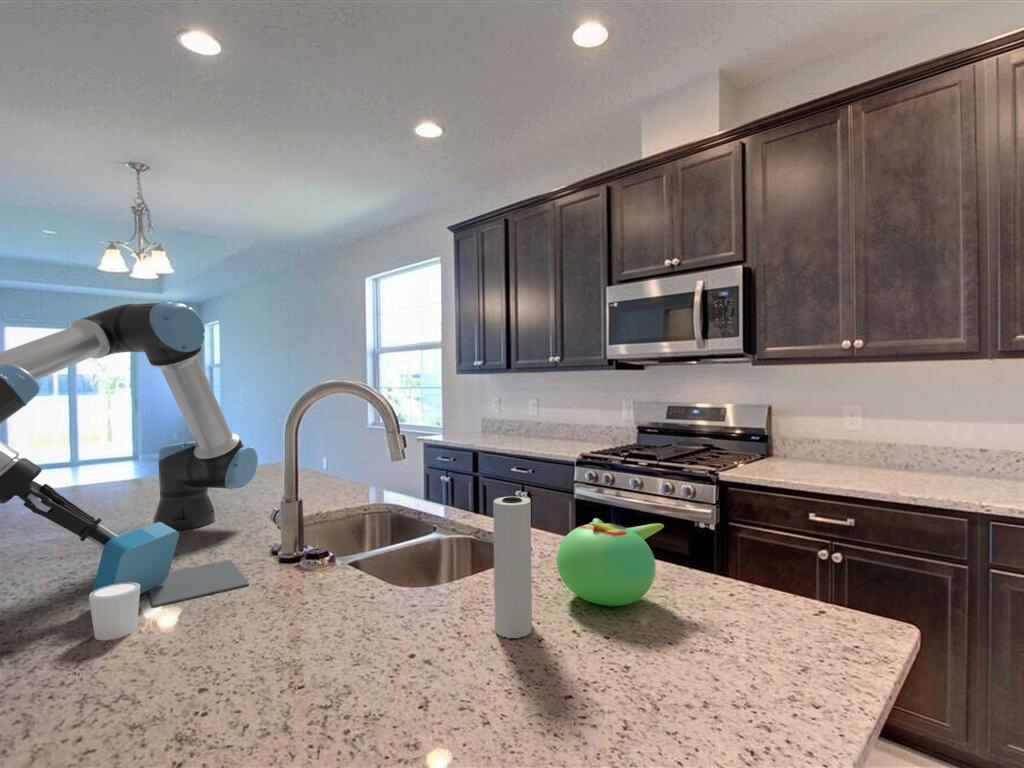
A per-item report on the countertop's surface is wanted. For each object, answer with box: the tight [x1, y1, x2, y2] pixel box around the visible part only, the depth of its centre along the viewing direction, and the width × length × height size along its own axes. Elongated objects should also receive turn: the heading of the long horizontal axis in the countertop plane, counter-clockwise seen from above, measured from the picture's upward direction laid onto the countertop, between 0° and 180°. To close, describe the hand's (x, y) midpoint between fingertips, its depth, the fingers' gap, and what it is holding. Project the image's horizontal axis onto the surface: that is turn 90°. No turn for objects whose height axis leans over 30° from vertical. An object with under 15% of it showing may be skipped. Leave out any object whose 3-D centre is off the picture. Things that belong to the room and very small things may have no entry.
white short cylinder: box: [88, 582, 141, 641], centre depth 89 cm, size 7×7×7 cm
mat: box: [148, 559, 250, 608], centre depth 111 cm, size 16×18×1 cm
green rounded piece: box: [556, 517, 665, 607], centre depth 100 cm, size 18×17×15 cm
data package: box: [92, 522, 180, 595], centre depth 103 cm, size 12×4×12 cm, turn 165°
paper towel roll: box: [492, 493, 533, 639], centre depth 88 cm, size 7×6×21 cm
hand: (124, 550), depth 103 cm, fingers closed
